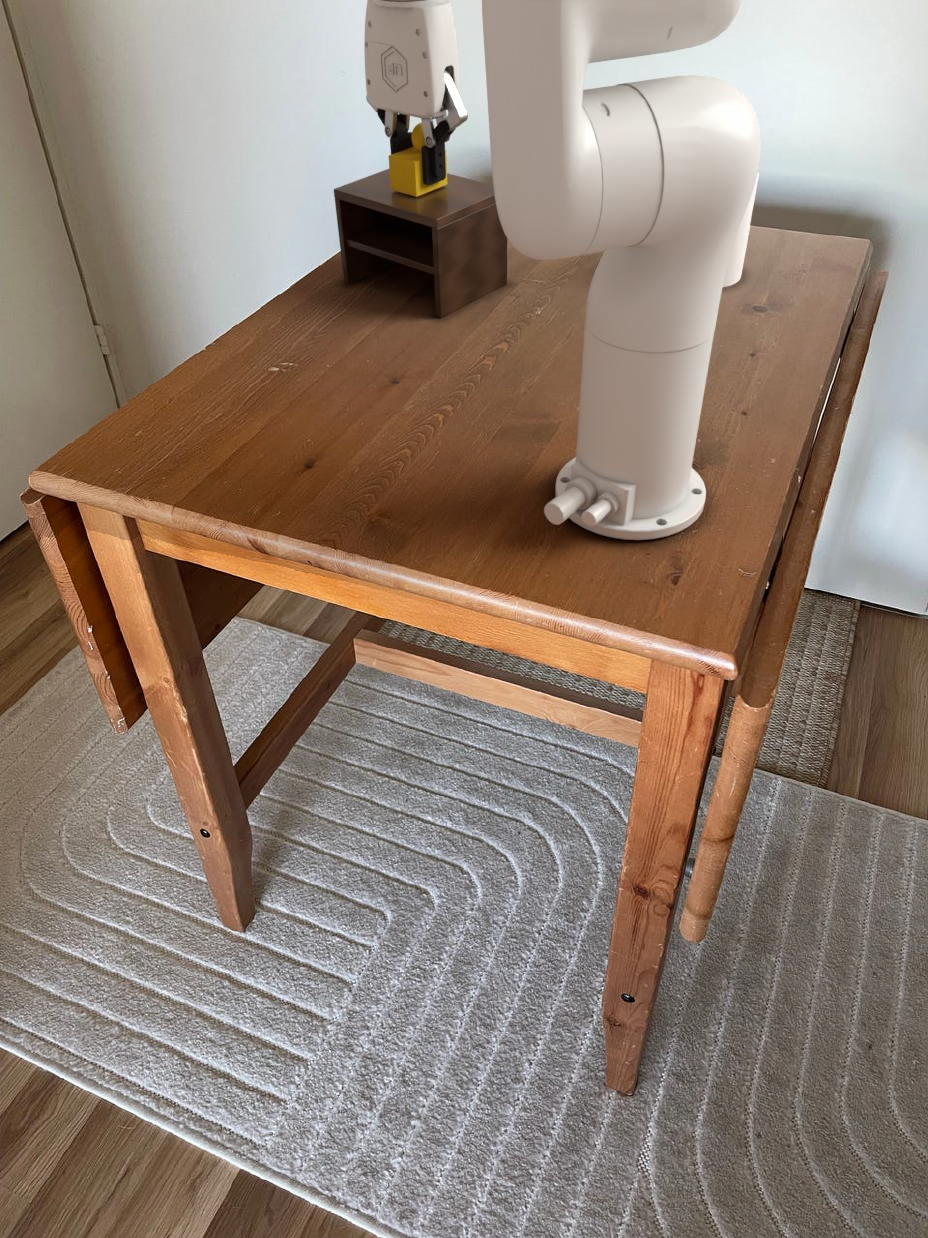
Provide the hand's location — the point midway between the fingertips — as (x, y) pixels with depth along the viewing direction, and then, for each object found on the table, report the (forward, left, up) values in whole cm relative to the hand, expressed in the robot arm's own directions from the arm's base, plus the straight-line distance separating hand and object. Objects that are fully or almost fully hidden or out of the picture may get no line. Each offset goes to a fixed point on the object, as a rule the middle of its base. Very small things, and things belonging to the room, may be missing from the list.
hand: (419, 175), depth 105 cm
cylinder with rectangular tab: (+23, -25, -13) cm, 36 cm away
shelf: (0, 0, -12) cm, 12 cm away
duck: (0, 0, -1) cm, 1 cm away
